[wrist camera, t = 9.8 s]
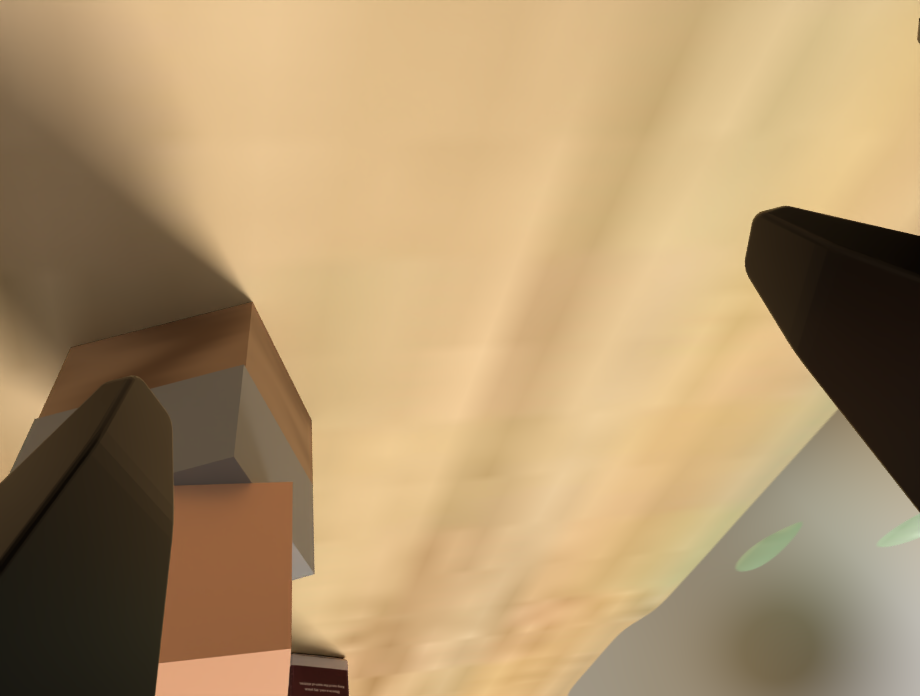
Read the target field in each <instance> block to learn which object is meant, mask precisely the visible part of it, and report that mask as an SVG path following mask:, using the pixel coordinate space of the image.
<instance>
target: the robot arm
mask: <svg viewBox="0 0 920 696" xmlns="http://www.w3.org/2000/svg"><path fill="white" fill-rule="evenodd" d="M917 40H918V42H919V43H920V18H919V25H918V37H917ZM745 268H746V272H747V275H748V277H749V279H750V280H751V282H752V284H753V285H754V287H755V289H756V290H757V292H758V293H759V295H760V297H761V298H762V300H763V302H764V303H765V305H766V307H767V308H768V310H769V311H770V313H771V315H772V316H773V318H774V320H775V321H776V323H777V325H778V326H779V328H780V329H781V331H782V333H783V334H784V336H785V338H786V339H787V341H788V342H789V344H790V345H791V347H792V348H793V350H794V352H795V353H796V354H797V356H798V357H799V359H800V360H801V361H802V363H803V364H804V365H805V367H806V368H807V369H808V371H809V372H810V373H811V374H812V376H813V377H814V378H815V379H816V381H817V382H818V383H819V385H820V386H821V387H822V388H823V390H824V391H825V392H826V394H827V395H828V396H829V397H830V399H831V400H832V401H833V402H834V404H835V405H836V406H837V408H838V409H839V410H840V411H841V413H842V414H843V415H844V416H845V418H846V419H847V420H848V422H849V423H850V424H851V425H852V427H853V428H854V429H855V431H856V432H857V433H858V434H859V436H860V437H861V438H862V439H863V441H864V442H865V443H866V445H867V446H868V447H869V448H870V450H871V451H872V452H873V453H874V455H875V456H876V457H877V459H878V460H879V461H880V462H881V464H882V465H883V466H884V468H885V469H886V470H887V471H888V473H889V474H890V475H891V476H892V478H893V479H894V480H895V482H896V483H897V484H898V485H899V487H900V488H901V489H902V491H903V492H904V493H905V494H906V496H907V497H908V498H909V499H910V501H911V502H912V503H913V505H914V506H915V507H916V508H917V510H918V511H919V512H920V236H917V235H913V234H909V233H904V232H900V231H896V230H891V229H887V228H882V227H878V226H874V225H869V224H865V223H861V222H856V221H852V220H847V219H843V218H839V217H834V216H830V215H826V214H821V213H817V212H813V211H808V210H804V209H799V208H795V207H791V206H781V207H777V208H773V209H769V210H766V211H762V212H760V213H758V214H757V215H756V216H755V218H754V219H753V222H752V226H751V231H750V236H749V241H748V247H747V252H746V257H745ZM173 525H174V482H173V428H172V422H171V419H170V417H169V415H168V413H167V411H166V410H165V409H164V407H163V406H162V405H161V403H160V402H159V401H158V399H157V398H156V397H155V395H154V394H153V392H152V391H151V390H150V388H149V387H148V386H147V384H146V383H145V382H144V381H143V380H142V379H141V378H140V377H138V376H134V375H130V376H127V377H123V378H119V379H115V380H111V381H108V382H106V383H104V384H102V385H101V386H100V387H99V388H98V389H97V390H96V391H95V392H94V393H93V394H92V395H91V396H90V397H89V398H88V399H87V400H86V401H85V402H84V403H83V404H82V405H81V406H80V407H78V408H77V409H76V410H75V411H74V412H73V413H72V414H71V415H70V416H69V417H68V418H67V419H66V420H65V421H64V422H63V423H62V424H61V425H60V426H59V427H58V428H57V429H56V430H55V431H54V432H53V433H52V434H51V435H50V436H48V437H47V438H46V439H45V440H44V441H43V442H42V443H41V444H40V445H39V446H38V447H37V448H36V449H35V450H34V451H33V452H32V453H31V454H30V455H29V456H28V457H27V458H26V459H25V460H24V461H23V462H22V463H21V464H20V465H18V466H17V467H16V468H15V469H14V470H13V471H12V472H11V473H10V474H9V475H8V476H7V477H6V478H5V479H4V480H3V481H2V482H1V483H0V696H155V693H156V684H157V675H158V666H159V657H160V648H161V638H162V629H163V620H164V611H165V602H166V593H167V584H168V574H169V565H170V556H171V547H172V537H173Z"/></svg>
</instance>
